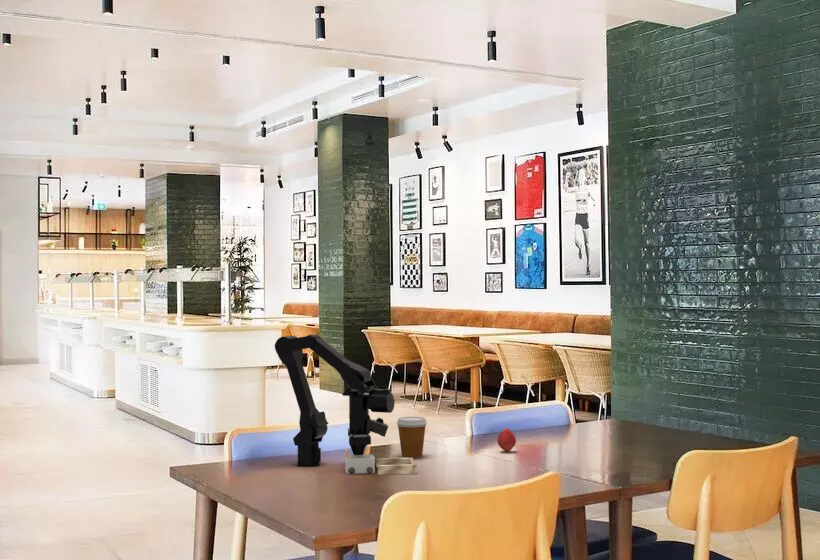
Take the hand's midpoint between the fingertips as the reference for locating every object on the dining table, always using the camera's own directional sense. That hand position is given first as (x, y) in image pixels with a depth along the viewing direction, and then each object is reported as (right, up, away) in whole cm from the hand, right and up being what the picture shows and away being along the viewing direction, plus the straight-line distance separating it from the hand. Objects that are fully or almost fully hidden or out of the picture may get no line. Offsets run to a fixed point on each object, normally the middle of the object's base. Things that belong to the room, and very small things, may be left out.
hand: (359, 464), depth 275 cm
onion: (+46, -1, +26) cm, 53 cm away
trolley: (0, -1, -5) cm, 5 cm away
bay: (+10, -1, -4) cm, 11 cm away
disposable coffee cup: (+15, -1, +18) cm, 24 cm away
